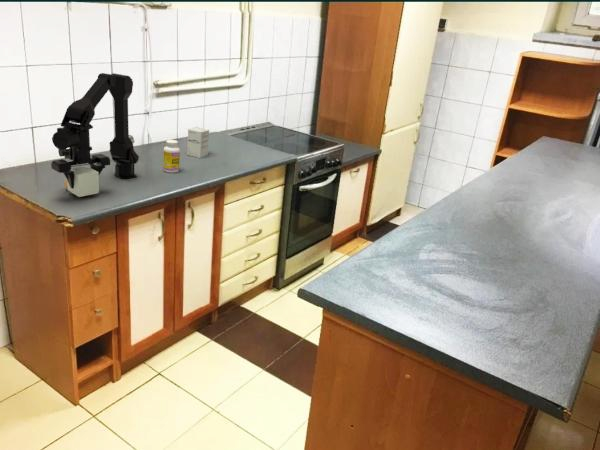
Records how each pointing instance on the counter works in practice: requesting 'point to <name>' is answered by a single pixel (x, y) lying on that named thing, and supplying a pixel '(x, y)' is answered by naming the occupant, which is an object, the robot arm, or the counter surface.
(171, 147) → the supplement bottle
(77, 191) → the sage green cuboid
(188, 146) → the supplement box
